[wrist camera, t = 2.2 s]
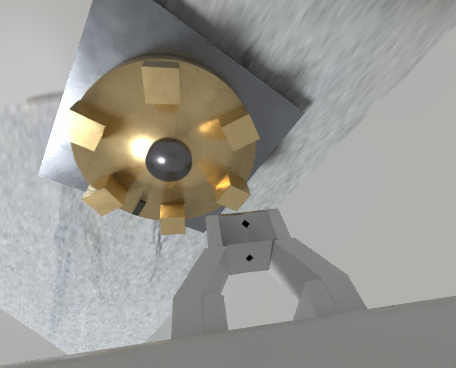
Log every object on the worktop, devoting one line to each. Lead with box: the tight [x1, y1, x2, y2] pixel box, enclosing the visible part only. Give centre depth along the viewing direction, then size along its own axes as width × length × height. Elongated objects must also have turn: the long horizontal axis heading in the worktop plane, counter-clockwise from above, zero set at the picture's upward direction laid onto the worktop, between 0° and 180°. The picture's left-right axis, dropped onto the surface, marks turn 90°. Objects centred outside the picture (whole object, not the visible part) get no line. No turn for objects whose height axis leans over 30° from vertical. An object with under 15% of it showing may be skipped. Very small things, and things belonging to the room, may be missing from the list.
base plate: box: [38, 0, 304, 233], centre depth 31 cm, size 24×24×2 cm
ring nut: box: [60, 55, 260, 235], centre depth 28 cm, size 20×20×6 cm
